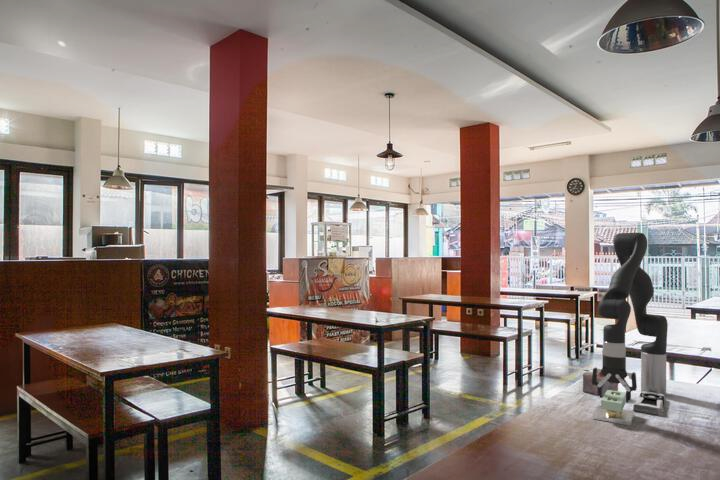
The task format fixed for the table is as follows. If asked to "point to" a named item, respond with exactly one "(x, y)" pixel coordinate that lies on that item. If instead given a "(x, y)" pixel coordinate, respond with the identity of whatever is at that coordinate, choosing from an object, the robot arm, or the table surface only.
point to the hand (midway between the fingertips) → (613, 399)
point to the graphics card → (650, 403)
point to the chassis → (614, 415)
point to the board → (613, 405)
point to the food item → (592, 388)
